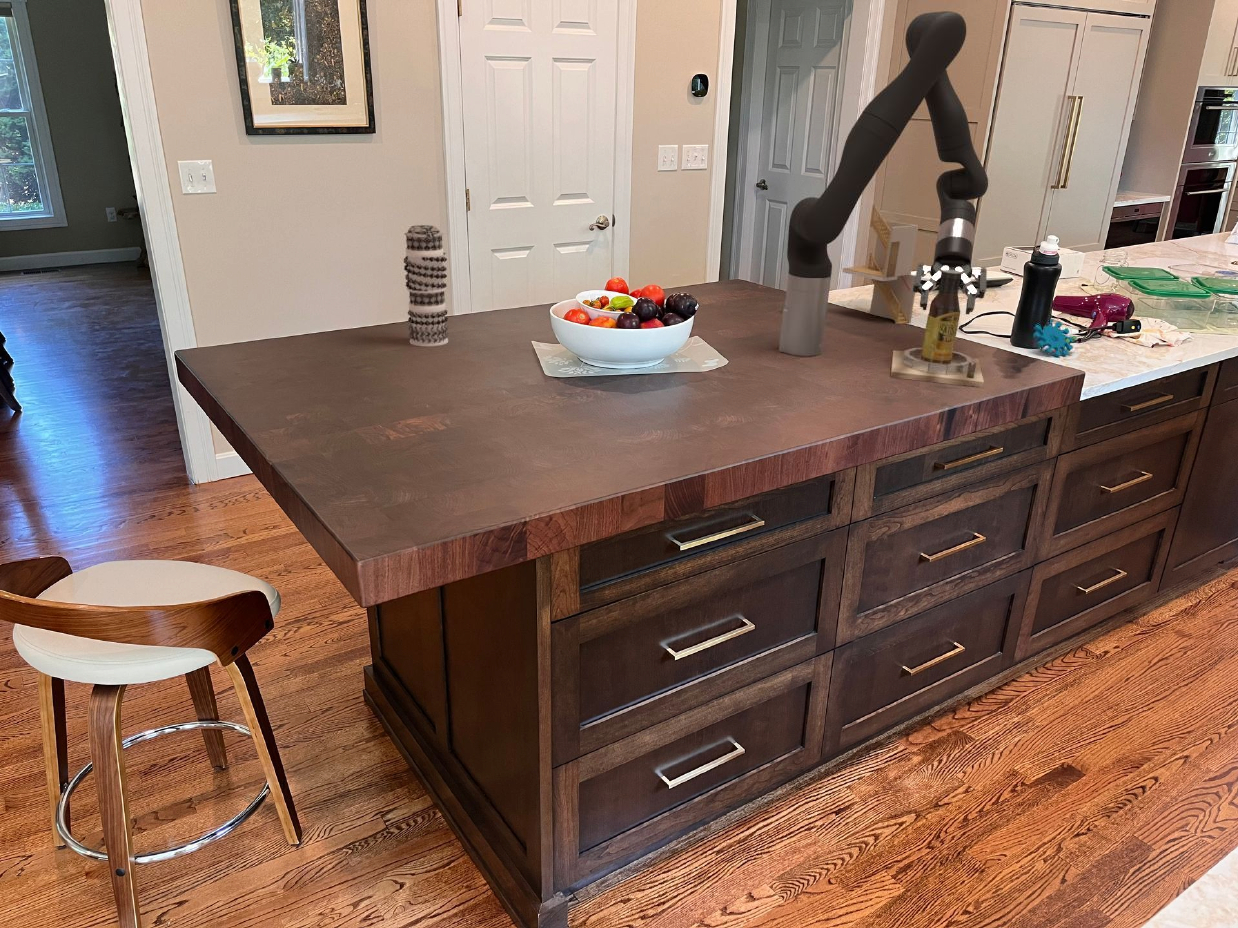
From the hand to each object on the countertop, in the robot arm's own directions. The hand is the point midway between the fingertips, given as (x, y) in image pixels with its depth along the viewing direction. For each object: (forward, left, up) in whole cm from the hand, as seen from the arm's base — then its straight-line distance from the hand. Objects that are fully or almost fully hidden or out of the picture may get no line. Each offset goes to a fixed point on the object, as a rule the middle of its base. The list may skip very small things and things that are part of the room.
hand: (946, 310), depth 183 cm
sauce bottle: (0, +2, -12) cm, 12 cm away
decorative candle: (-108, -22, -14) cm, 111 cm away
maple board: (0, +1, -13) cm, 13 cm away
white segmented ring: (0, +1, -12) cm, 12 cm away
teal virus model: (+27, +29, -14) cm, 41 cm away
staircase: (-14, +46, -14) cm, 50 cm away
